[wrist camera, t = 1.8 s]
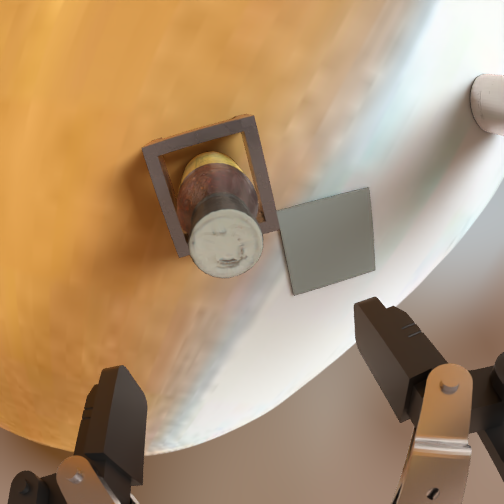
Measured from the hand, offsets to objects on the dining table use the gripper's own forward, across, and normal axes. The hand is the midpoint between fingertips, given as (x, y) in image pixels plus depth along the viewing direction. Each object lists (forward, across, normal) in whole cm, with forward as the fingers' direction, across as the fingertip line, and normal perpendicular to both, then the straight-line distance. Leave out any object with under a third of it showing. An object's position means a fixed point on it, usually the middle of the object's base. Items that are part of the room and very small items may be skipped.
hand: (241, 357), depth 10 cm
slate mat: (+28, -12, +12) cm, 32 cm away
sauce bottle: (+28, 0, 0) cm, 28 cm away
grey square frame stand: (+28, 0, 0) cm, 28 cm away
